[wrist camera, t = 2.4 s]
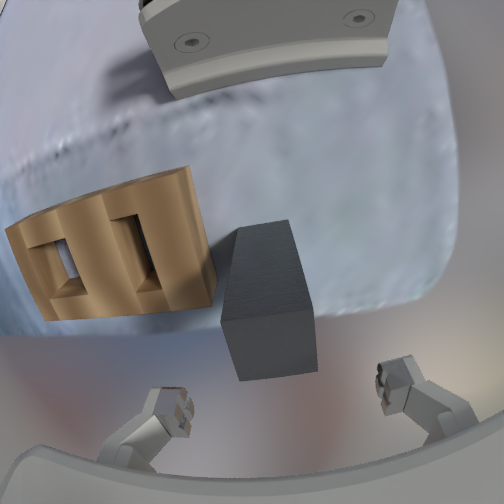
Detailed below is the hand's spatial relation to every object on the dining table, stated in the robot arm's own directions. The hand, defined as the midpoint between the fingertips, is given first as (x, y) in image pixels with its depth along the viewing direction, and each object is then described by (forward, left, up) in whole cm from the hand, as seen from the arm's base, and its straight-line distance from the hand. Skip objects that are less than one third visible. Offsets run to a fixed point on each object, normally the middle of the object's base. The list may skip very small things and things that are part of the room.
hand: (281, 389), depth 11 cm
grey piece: (-7, +16, -15) cm, 23 cm away
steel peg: (0, 0, -14) cm, 14 cm away
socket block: (-13, -5, -14) cm, 20 cm away
